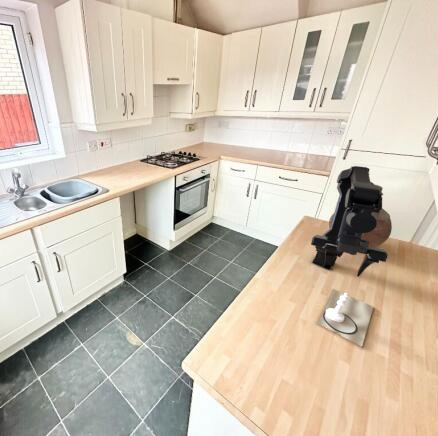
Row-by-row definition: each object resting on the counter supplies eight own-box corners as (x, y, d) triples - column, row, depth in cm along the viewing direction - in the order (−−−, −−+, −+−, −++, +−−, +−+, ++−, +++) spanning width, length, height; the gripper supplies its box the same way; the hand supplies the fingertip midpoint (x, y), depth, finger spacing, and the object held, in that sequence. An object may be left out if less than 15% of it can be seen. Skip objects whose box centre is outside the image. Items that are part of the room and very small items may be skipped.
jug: (374, 266, 101) (411, 200, 86) (316, 244, 115) (339, 185, 100) (383, 245, 113) (416, 185, 99) (329, 228, 127) (351, 173, 113)
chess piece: (344, 314, 79) (356, 291, 74) (343, 324, 76) (356, 302, 71) (326, 307, 82) (336, 285, 77) (325, 317, 78) (336, 294, 73)
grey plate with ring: (318, 323, 77) (319, 322, 77) (334, 290, 89) (335, 289, 89) (361, 347, 70) (362, 345, 70) (372, 308, 82) (373, 306, 82)
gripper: (314, 223, 76) (303, 269, 80) (397, 238, 65) (379, 291, 68) (318, 218, 85) (308, 260, 88) (392, 231, 73) (376, 278, 77)
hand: (339, 271), depth 80 cm, fingers open, 9 cm apart
